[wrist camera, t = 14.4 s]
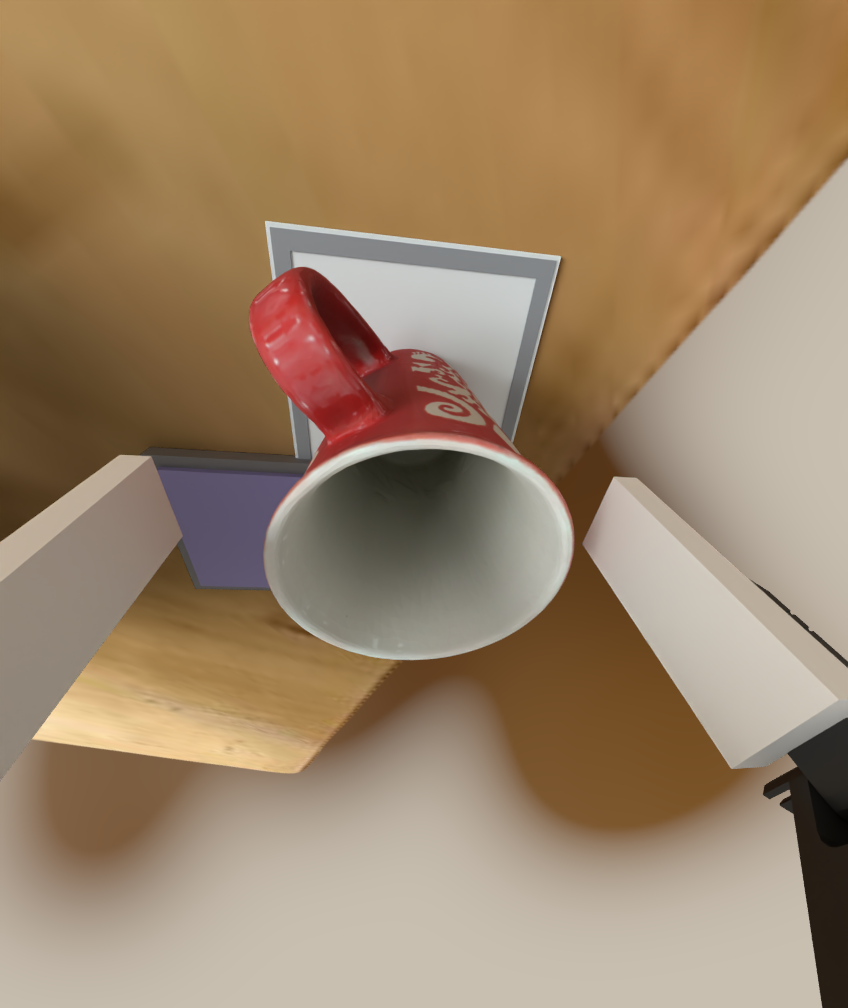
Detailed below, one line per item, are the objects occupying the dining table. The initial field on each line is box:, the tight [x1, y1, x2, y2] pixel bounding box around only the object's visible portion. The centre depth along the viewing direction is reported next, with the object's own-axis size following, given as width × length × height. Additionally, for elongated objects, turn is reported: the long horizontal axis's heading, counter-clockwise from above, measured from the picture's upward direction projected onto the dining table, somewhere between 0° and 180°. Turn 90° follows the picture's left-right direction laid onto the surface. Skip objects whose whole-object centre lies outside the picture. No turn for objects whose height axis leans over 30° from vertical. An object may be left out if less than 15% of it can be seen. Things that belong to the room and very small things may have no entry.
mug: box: [249, 267, 574, 660], centre depth 15 cm, size 13×9×14 cm
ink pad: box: [140, 447, 312, 590], centre depth 25 cm, size 12×12×1 cm
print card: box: [265, 221, 561, 459], centre depth 20 cm, size 14×14×1 cm
